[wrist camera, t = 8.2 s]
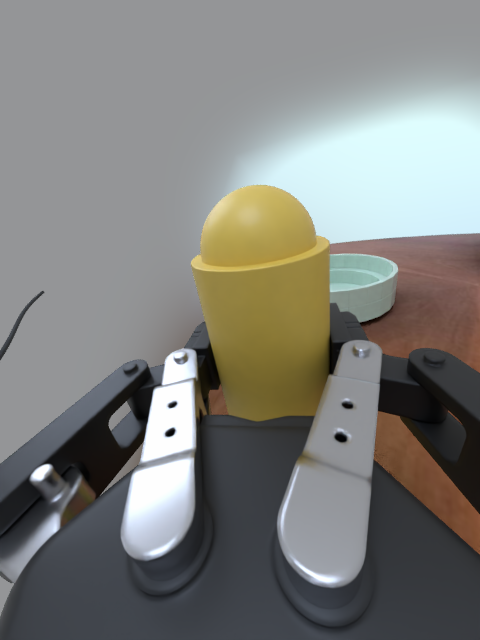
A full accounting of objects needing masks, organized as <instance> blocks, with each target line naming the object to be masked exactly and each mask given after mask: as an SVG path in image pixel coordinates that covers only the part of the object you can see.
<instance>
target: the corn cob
mask: <svg viewBox="0 0 480 640" xmlns="http://www.w3.org/2000/svg"><path fill="white" fill-rule="evenodd" d="M200 248H201V254H199V255H198V256H196V257H195V258H194V259H193V260H192V262H191V267H192V271H193V275H194V279H195V283H196V287H197V291H198V295H199V299H200V303H201V307H202V311H203V315H204V319H205V323H206V327H207V331H208V335H209V339H210V343H211V347H212V351H213V354H214V358H215V362H216V366H217V370H218V374H219V378H220V382H221V386H222V390H223V394H224V398H225V402H226V406H227V410H228V414H229V415H232V416H236V417H240V418H244V419H248V420H253V421H264V420H269V419H274V418H279V417H284V416H315V414H316V411H317V408H318V405H319V402H320V399H321V396H322V393H323V390H324V387H325V384H326V381H327V378H328V376H329V374H330V243H329V241H328V240H327V239H326V238H324V237H321V236H316V232H315V228H314V225H313V222H312V219H311V217H310V215H309V213H308V212H307V210H306V209H305V207H304V206H303V205H302V204H301V203H300V202H299V201H298V200H297V199H296V198H295V197H294V196H292V195H291V194H289V193H288V192H286V191H284V190H282V189H279V188H276V187H272V186H267V185H252V186H247V187H243V188H240V189H238V190H235V191H233V192H231V193H230V194H228V195H226V196H225V197H224V198H223V199H222V200H220V201H219V203H217V205H216V206H215V207H214V208H213V209H212V211H211V212H210V214H209V216H208V217H207V219H206V221H205V224H204V227H203V230H202V235H201V244H200Z"/></svg>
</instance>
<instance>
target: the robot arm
mask: <svg viewBox="0 0 480 640" xmlns="http://www.w3.org/2000/svg"><path fill="white" fill-rule="evenodd" d="M43 293H44V291H42V292H40V293H39V294H38V295H37V296H36V297H34V298H33V299H32V300H31V301H30V302H29V304H27V306H26V307H25V308H24V309H23V311H22V312H21V314H20V315H19V317H18V319H17V321H16V323H15V325H14V327H13V329H12V331H11V333H10V335H9V337H8V338H7V340H6V342H5V344H4V345H3V347H2V349H1V350H0V360H1V358H2V357H3V355H4V354H5V352H6V350H7V349H8V347H9V345H10V343H11V341H12V339H13V337H14V335H15V333H16V331H17V328H18V326H19V324H20V322H21V320H22V318H23V316H24V314H25V312H26V311H27V310H28V309H29V307H30V306H31V305H32V304H33V303H34V302H35V301H36V300H37V299H38V298H39V297H40V296H41V295H42V294H43ZM220 383H221V382H220V378H219V374H218V370H217V366H216V362H215V358H214V354H213V351H212V347H211V343H210V339H209V335H208V331H207V327H206V323H205V322H202V323H201V324H200V325H199V326H197V327H196V329H195V331H194V333H193V334H192V336H191V338H190V339H189V341H188V342H187V344H186V345H185V347H184V349H180V350H177V351H175V352H173V353H171V354H170V355H169V356H168V357H167V358H166V360H165V364H163V365H160V366H155V367H151V368H149V367H148V364H147V362H146V361H145V360H133V361H130V362H127V363H125V364H124V365H122V366H121V367H119V368H118V369H117V370H116V371H114V372H113V373H112V374H111V375H109V376H108V377H107V378H106V379H104V380H103V381H102V382H101V383H100V384H98V385H97V386H96V387H95V388H93V389H92V390H91V391H90V392H88V393H87V394H86V395H85V396H83V397H82V398H81V399H80V400H79V401H77V402H76V403H75V404H74V405H72V406H71V407H70V408H69V409H67V410H66V411H65V412H64V413H62V414H61V415H60V416H59V417H58V418H56V419H55V420H54V421H53V422H51V423H50V424H49V425H48V426H46V427H45V428H44V429H43V430H42V431H40V432H39V433H38V434H37V435H36V436H34V437H33V438H32V439H31V440H29V441H28V442H27V443H25V444H24V445H23V446H22V447H21V448H19V449H18V450H17V451H16V452H14V453H13V454H12V455H11V456H9V457H8V458H7V459H6V460H5V461H3V462H2V463H1V464H0V576H1V577H3V578H4V579H5V580H7V581H8V582H10V583H14V586H13V587H12V589H11V591H10V594H9V596H8V598H7V600H6V603H5V605H4V608H3V611H2V614H1V617H0V640H480V555H479V554H478V553H477V552H476V551H475V550H474V549H473V548H472V547H470V546H469V545H468V544H467V543H466V542H465V541H464V540H463V539H462V538H460V537H459V536H458V535H457V534H456V533H455V532H454V531H453V530H452V529H450V528H449V527H448V526H447V525H446V524H445V523H444V522H443V521H442V520H440V519H439V518H438V517H437V516H436V515H435V514H434V513H433V512H432V511H431V510H429V509H428V508H427V507H426V506H425V505H424V504H423V503H422V502H421V501H419V500H418V499H417V498H416V497H415V496H414V495H413V494H412V493H411V492H409V491H408V490H407V489H406V488H405V487H404V486H403V485H402V484H401V483H399V482H398V481H397V480H396V479H395V478H394V477H393V476H392V475H391V474H389V473H388V472H387V471H386V470H385V469H384V468H383V467H382V466H381V465H379V464H378V463H377V462H376V461H375V460H374V459H373V458H374V447H375V435H376V424H377V412H378V411H381V412H385V413H389V414H393V415H398V416H400V418H401V420H402V421H403V423H404V424H405V425H406V426H407V428H408V429H409V430H410V431H411V432H412V434H413V435H414V436H415V437H416V438H417V440H418V441H419V442H420V443H421V444H422V446H423V447H424V448H425V449H426V450H427V452H428V453H429V454H430V455H431V456H432V458H433V459H434V460H435V461H436V462H437V464H438V465H439V466H440V467H441V468H442V470H443V471H444V472H445V473H446V474H447V476H448V477H449V478H450V479H451V480H452V482H453V483H454V484H455V485H456V486H457V488H458V489H459V490H460V491H461V492H462V494H463V495H464V496H465V497H466V498H467V500H468V501H469V502H470V503H471V504H472V506H473V507H474V508H475V509H476V510H477V512H478V513H479V514H480V373H479V372H477V371H476V370H474V369H473V368H471V367H470V366H468V365H467V364H465V363H464V362H462V361H461V360H459V359H458V358H456V357H455V356H453V355H451V354H449V353H447V352H444V351H441V350H437V349H431V348H421V349H416V350H413V351H412V352H411V353H410V354H409V359H407V358H400V357H393V356H389V355H385V354H383V353H382V349H381V348H380V347H379V346H378V345H377V344H375V343H373V342H370V341H369V340H368V338H367V336H366V334H365V332H364V331H363V329H362V328H361V325H360V323H359V321H358V319H357V317H356V316H355V315H354V314H352V313H350V312H349V311H345V312H340V310H339V308H338V305H337V303H330V374H329V376H328V378H327V381H326V384H325V387H324V390H323V393H322V396H321V399H320V402H319V405H318V408H317V411H316V414H315V416H284V417H279V418H274V419H269V420H264V421H253V420H248V419H244V418H240V417H236V416H232V415H211V405H210V398H209V395H208V394H209V391H210V390H218V389H219V386H220ZM126 401H127V402H128V404H129V406H130V408H131V411H130V412H129V413H128V414H127V415H126V416H125V417H124V418H123V419H122V421H120V423H119V424H118V425H117V426H116V427H115V428H114V429H113V430H112V431H110V429H109V426H108V423H109V419H110V417H111V416H112V415H113V414H114V413H115V411H116V410H118V409H119V408H120V406H122V405H123V404H124V403H125V402H126ZM448 410H449V411H450V412H451V413H452V414H453V415H454V416H455V417H457V418H458V419H459V420H460V422H461V423H462V424H461V423H460V422H458V421H457V420H456V419H455V418H454V417H453V416H452V415H451V414H450V413H449V412H448ZM143 442H144V445H143V450H142V455H141V460H140V463H139V465H137V466H136V467H135V468H134V469H133V470H132V471H130V472H129V473H128V474H126V475H125V476H124V477H123V478H121V479H120V480H119V481H118V482H117V483H115V484H114V485H113V486H112V487H110V488H109V489H108V490H107V491H105V492H104V493H103V494H102V495H101V493H102V492H103V491H104V490H105V488H106V487H107V486H108V485H109V483H110V482H111V481H112V480H113V479H114V477H115V476H116V475H117V474H118V472H119V471H120V470H121V469H122V467H123V466H124V465H125V464H126V463H127V461H128V460H129V459H130V458H131V456H132V455H133V454H134V453H135V451H136V450H137V449H138V448H139V446H140V445H141V444H142V443H143ZM100 495H101V496H100Z"/></svg>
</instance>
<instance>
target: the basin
mask: <svg viewBox="0 0 480 640" xmlns="http://www.w3.org/2000/svg"><path fill="white" fill-rule="evenodd" d="M397 276H398V266H397V265H396V264H395V263H394V262H392V261H391V260H388V259H385V258H383V257H378V256H373V255H364V254H332V255H330V303H337V305H338V308H339V310H340V312H345V311H349V312H350V313H352V314H354V315H355V316H356V317H357V319H358V321H359V322H364V321H368V320H371V319H373V318H376V317H379V316H381V315H382V314H384V313H386V312H387V311H389V310H390V309H391V307H392V306H393V304H394V302H395V293H396V285H397Z"/></svg>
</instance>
